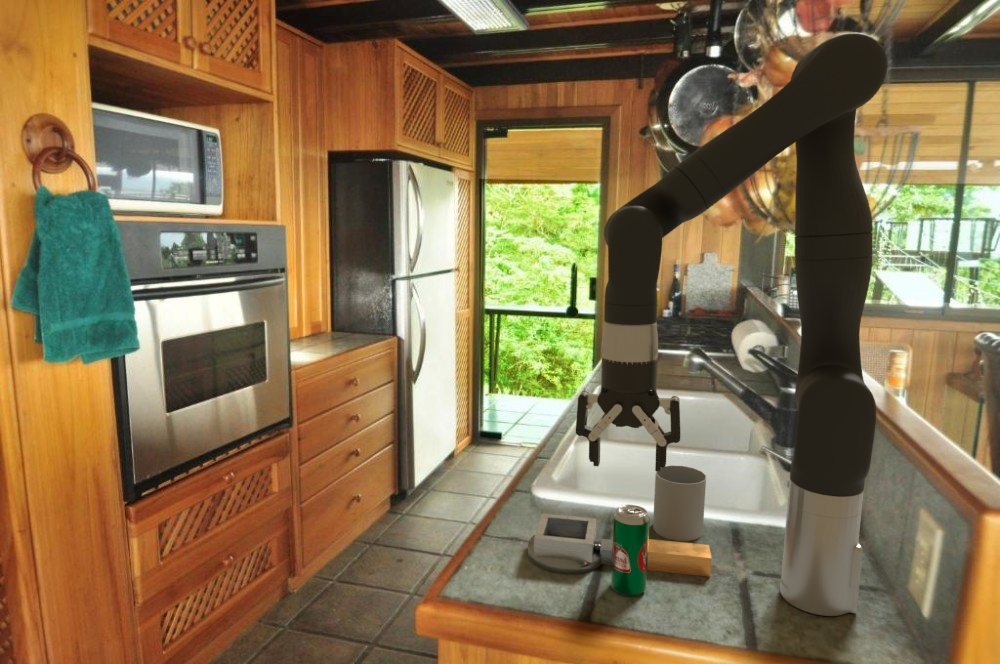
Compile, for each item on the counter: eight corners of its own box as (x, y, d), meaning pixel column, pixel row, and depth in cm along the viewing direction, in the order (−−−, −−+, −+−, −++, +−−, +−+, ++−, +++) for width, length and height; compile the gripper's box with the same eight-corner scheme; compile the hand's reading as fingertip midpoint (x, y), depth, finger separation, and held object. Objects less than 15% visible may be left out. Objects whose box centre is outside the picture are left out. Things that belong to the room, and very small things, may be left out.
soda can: (604, 583, 100) (607, 506, 98) (633, 576, 102) (636, 501, 100) (623, 601, 96) (626, 521, 94) (653, 593, 98) (657, 515, 96)
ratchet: (705, 550, 110) (707, 524, 109) (713, 590, 98) (715, 561, 98) (534, 533, 116) (534, 508, 115) (522, 569, 104) (522, 541, 103)
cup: (701, 544, 112) (705, 487, 111) (650, 536, 115) (653, 480, 113) (703, 522, 120) (707, 468, 119) (656, 515, 123) (658, 462, 121)
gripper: (683, 351, 95) (679, 462, 98) (581, 347, 99) (580, 454, 101) (683, 362, 88) (678, 481, 91) (573, 357, 92) (572, 472, 94)
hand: (626, 467), depth 96 cm, fingers open, 8 cm apart
